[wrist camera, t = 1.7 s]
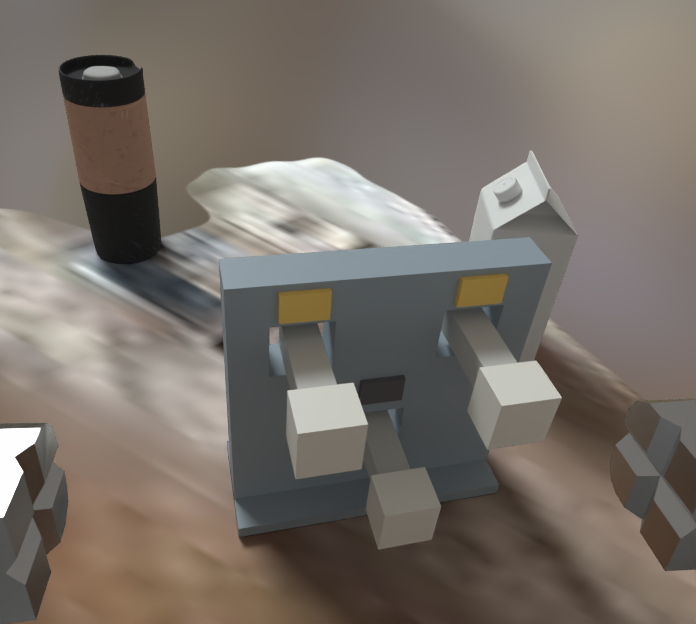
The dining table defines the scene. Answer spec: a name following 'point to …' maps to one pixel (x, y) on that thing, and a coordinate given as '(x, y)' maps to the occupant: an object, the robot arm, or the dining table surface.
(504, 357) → the button top right
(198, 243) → the dining table surface
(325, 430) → the button top left
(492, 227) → the milk carton
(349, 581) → the dining table surface
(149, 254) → the travel mug
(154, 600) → the dining table surface
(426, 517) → the button bottom
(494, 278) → the panel
